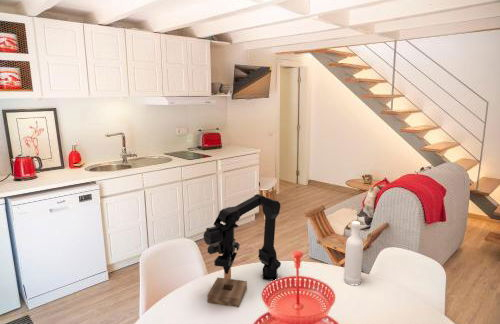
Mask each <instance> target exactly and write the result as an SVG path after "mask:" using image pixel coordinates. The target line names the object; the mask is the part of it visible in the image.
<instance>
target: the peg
mask: <svg viewBox="0 0 500 324" xmlns="http://www.w3.org/2000/svg"><path fill="white" fill-rule="evenodd" d="M223 278H224V279H226V280H229V279H232V266H231V267H230V270H229V272H228V274H225V271H224V270H223Z"/></svg>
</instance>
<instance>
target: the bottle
mask: <svg viewBox="0 0 500 324" xmlns="http://www.w3.org/2000/svg"><path fill="white" fill-rule="evenodd" d="M360 229H361V223H360V221H357V220H354V221H352V222H351V233H350V236H349V237H348V238H347V240H346V242H345V253H344V254H345V256H344V269H343V271H344V272H343V281H345V282H344V283H346V284H347V283H348V284H347V285H349V284H354V285H353V286H356V285H355V284H359V283H360V284H361V280H362V267H363V254H364V252H363V251H364V242H363V238H361V237H360V232H361V231H360ZM360 284H359V285H360Z"/></svg>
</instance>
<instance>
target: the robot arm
mask: <svg viewBox="0 0 500 324" xmlns="http://www.w3.org/2000/svg"><path fill="white" fill-rule="evenodd" d="M259 206H262V212H263V215H264V230H263V231H264V233H263V234H264V236H263V246H262V247H261V248H259V249H258V256H257V257H258V260H259V261H260V262H261V264H263V266H262V279H263V280H267V281H274V280H275V279H276V280H277V279H278V276H279V272H278V270H279V268H280V267H281V265H282V263H281V261H279V260H278V259H277V257H278V256H277V252H276V249H275V246H274V245H275V233H276V232H275V231H276V219H277V217H278V216H279V214H280V211H281V203H280V201H279V200H276V199H273V198H270V197H266V196H265V195H262V194H259V193H256V194H254V195H253V196H252V197H250V198H248V199H246V200H243V202H241V203H239V204H237V205H234V206H229V207H225V208H222V209H220V210H219V213H218V215H217V217H216V219H215V220H214V222H213V226H211V227H206V228H205V231H204V233H203V240H204V243H205V244H206V245H208V246H207V251H206V252H207V253H208V254H210V255H214V254H218V256H217V257H216V258H215V259H214V261H213V262H214V266H215V267H222V268H223V272H224V271H225V274H228V272H229V270H230V267H231V268H232V266H233V264H234V262H235V259H236V256H237V254H238V252H235V251H239V250H240V247H241V246H240V244H239V242H236V238H235V228H239V224H237V222H238V221H240V219H241V217H243V215H245V214H246V213H249V212H251V211H252V210H255V209H256V208H257V207H259Z"/></svg>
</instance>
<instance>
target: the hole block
mask: <svg viewBox="0 0 500 324" xmlns="http://www.w3.org/2000/svg"><path fill="white" fill-rule="evenodd" d="M247 284H248V283H247V280H241V279H232V278H231V279H229V280H226V279H224V277H220V276H219V277H217V278H216V279H215V281H214V283H213V284H212V286H211V287H210V289H209V291H208V292H207V295H206V296H207V303H209V304H215V305H219V306H220V305H222V306H228V307H236V308H240V306H241V303H242V301H243V299H244V296H245V294H246V292H247V290H248V285H247Z"/></svg>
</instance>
